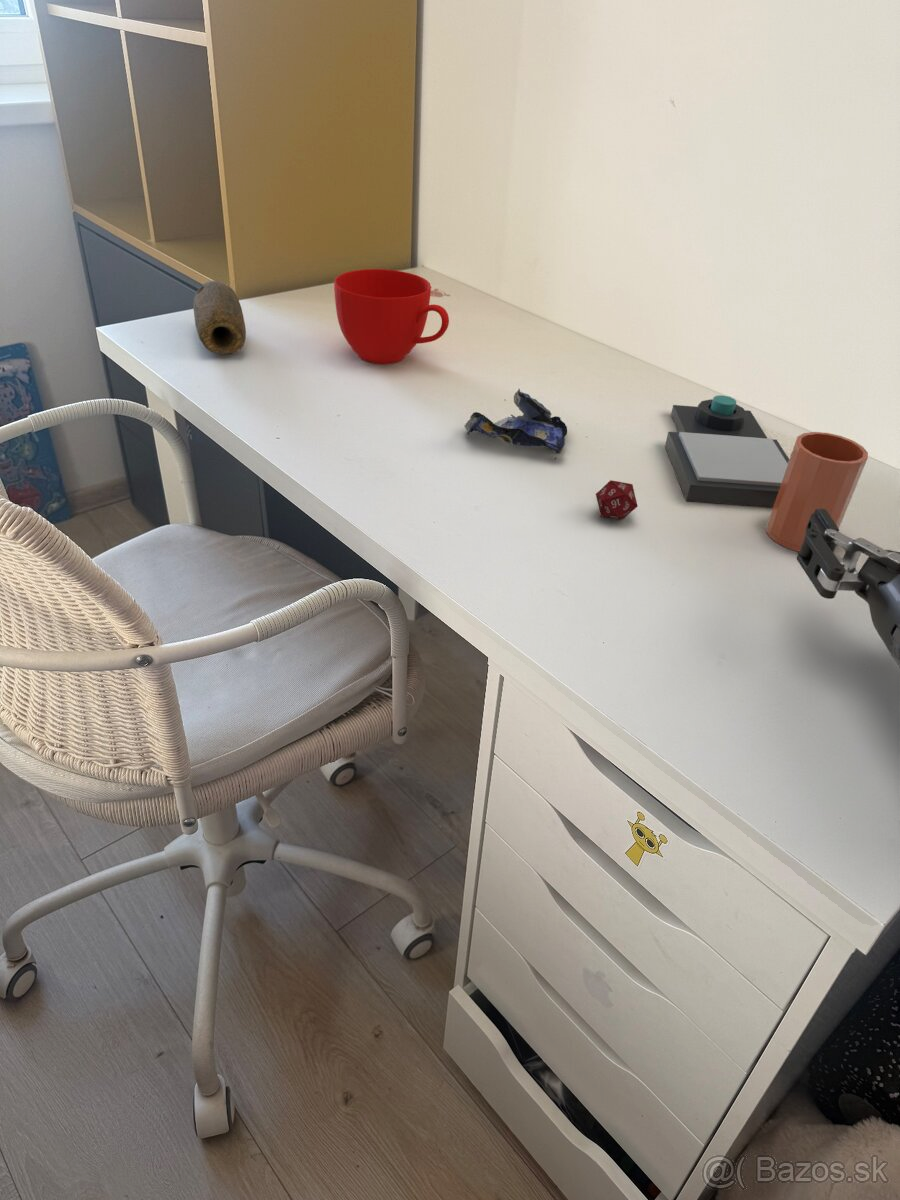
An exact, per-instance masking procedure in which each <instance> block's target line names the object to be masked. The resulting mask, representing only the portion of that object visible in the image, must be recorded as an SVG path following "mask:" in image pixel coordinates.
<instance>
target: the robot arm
mask: <svg viewBox="0 0 900 1200" xmlns="http://www.w3.org/2000/svg"><path fill="white" fill-rule="evenodd" d="M837 546H838V547H839V548H842V549H843V551H844V554H843V556H842V557H841V556H840V555H837V554H835V550H836V548H837ZM862 554H863V555H865V556H866V557H867V558H866V560H865V562H864V563H863V565H862V566H861V568H860V569H859V570H858V571H857V564H858V562H859V559H860V557H861V555H862ZM796 561H797V562H798V564H799V565H800V567H801V568H802V570H803V572H804V573H805V574H806V576H807V578H808V579H809V581H810V582H811V584H812V585H813V586H814V588H815V590H816V592H817V593H818V594H819V595H820V597H822V598H824V599H828V600H833V599H835V597H836V595H837V593H838V591H841V592H842V591H844V592H845V591H846V592H854V593H855V595H856V596H858V597H859V598H861V599H863V600H864V601H865V602H866V604H867V605H868V607H869V608H868V609H869V612H870V618H871V621H872V625H873V627H874V629H875V631H876V633H877V634H878V636H879V637H880V639H881V640H882V642H883V644H884V645H885V647H886V648H887V650H888V652H889V654H890V655H891V657H892V658H893V660H894V661H895V664H896V666H898V668H899V669H900V551H895V550H892V549H884V548H883V547H880V546H878V545H877V544H875V543H873V542H871V541H869V540H867V539H865V538H863V537H859V538H856V539H853V538H851V537H850V536H848V535H846V534H843V533H842V532H840V528H839V529H838V527H837V525H836V524H835V522H834V521H833V519H832V518H831V516H830V515H829V513H828V512H827V510H826V509H816V510H815V512H814V514H811V516H810V519H809V521H808V524H807V527H806V534H805V537H804V541H803V544H802V546H801V549H800V551H798V553H797V556H796Z"/></svg>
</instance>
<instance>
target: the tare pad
mask: <svg viewBox="0 0 900 1200" xmlns="http://www.w3.org/2000/svg"><path fill="white" fill-rule="evenodd" d="M712 401H713V398H712V399H705V400H702V401H700V402H699V403H698V404H697V406H694V405H693V406H692V405H679V404H673V405H672V407H671V408H672V409H671V413H670V416H671V419H672V421H673V423H674V425H675V427H676V430H677V432H687V433H701V434H714V435H727V436H741V437H754V438H767V439H768V436H767V435H766V433H765V431H764V430H763V429H762V427H761V425H760V424H759V422H758V420H757V419H756V417H755V416H754V414H753V413H752V411H751V410H748V409H747V410H746V409H745V408H743V406H740V405H739V404H737V403H736V406H735V409H734V413H733V414H731V415H722V414H719V413H715V412H713V411H711V410H710V408H711V405H712Z"/></svg>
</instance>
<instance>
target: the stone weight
mask: <svg viewBox="0 0 900 1200" xmlns="http://www.w3.org/2000/svg"><path fill="white" fill-rule="evenodd" d="M193 297H194V298H193V306H192V307H193V319H194V325H195V328H196V333H197V336H198V338H199V340H200V342H201V344H202V345H203V346H204V348H205V349H206V350H207V351H209V352H211V353H213V354H219V355H227V354H234V353H237V352H238V351H240V350H241V349H242V348H243V347H244V346H245V342H246V338H247V337H246V336H247V330H246V329H247V328H246V322H245V317H244V313H243V309H242V305H241V302H240V299H239V297H238V296H237V294H236V292H235V290H234V289H233V288H232V287H231V286H229V285H227V284H226V283H225V282H223V281H219V280H209V281H206V282H204V283H203V284H201V286H199V288H198V289H197V290H196V292H195V294H194V296H193Z"/></svg>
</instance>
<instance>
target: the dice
mask: <svg viewBox="0 0 900 1200" xmlns="http://www.w3.org/2000/svg"><path fill="white" fill-rule="evenodd" d="M595 497H596V501H597V506H598V510H599V514H600V517H604V518H609V519H616V520H620V521H623V520H624V519H625V518H626V517H627V516H628V515H630V514H631V513H632V512H633V511H634V510H635V509H637V508H638V506H639V505H638V501H637V498H636V493H635V489H634V485H633V483H629V482H623V481H619V480H613V479H609V481H608V482H607V483H606V484H604V486H603V487H602V488H601V489H600V490H598V491H597V492H596V493H595Z"/></svg>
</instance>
